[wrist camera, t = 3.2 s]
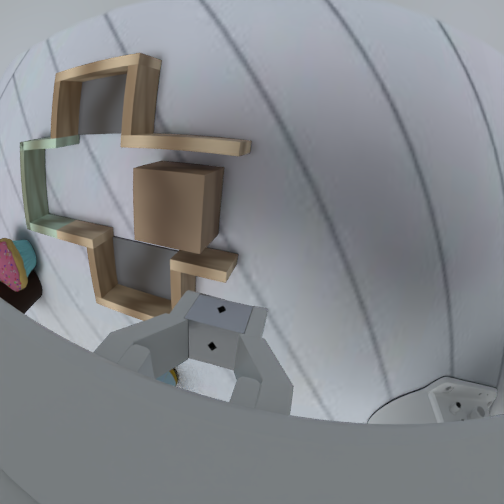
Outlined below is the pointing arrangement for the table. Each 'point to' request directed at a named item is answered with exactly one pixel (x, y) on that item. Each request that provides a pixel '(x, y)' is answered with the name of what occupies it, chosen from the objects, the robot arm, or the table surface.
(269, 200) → the table surface
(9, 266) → the cupcake
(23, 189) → the box
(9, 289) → the coffee mug
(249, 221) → the table surface
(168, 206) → the block
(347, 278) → the table surface
